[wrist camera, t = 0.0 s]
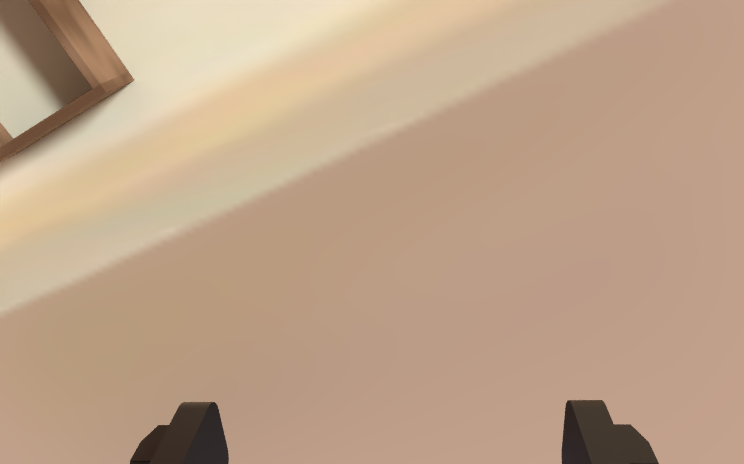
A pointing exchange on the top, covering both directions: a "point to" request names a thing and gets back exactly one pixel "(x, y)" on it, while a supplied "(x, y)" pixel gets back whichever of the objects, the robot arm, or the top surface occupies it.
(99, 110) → the top surface
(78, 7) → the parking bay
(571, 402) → the robot arm
